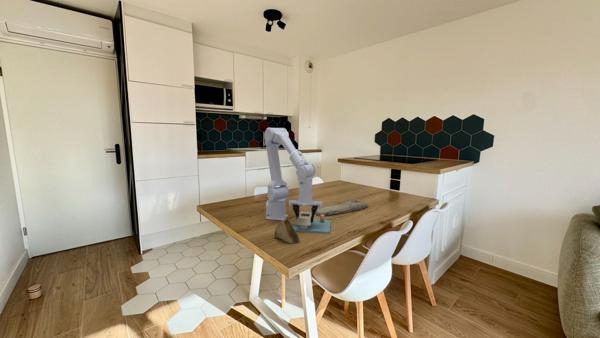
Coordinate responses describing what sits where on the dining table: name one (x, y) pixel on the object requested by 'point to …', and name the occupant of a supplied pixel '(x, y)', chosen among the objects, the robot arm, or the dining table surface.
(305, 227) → the metal knob block
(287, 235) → the rock
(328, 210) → the long grey stone
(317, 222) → the board
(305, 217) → the silver block with hole
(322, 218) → the copper cylinder peg
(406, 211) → the dining table surface
